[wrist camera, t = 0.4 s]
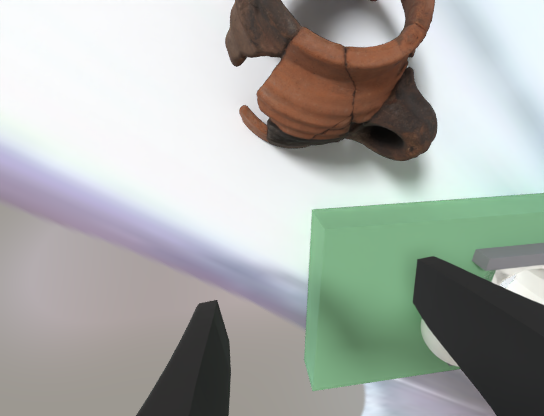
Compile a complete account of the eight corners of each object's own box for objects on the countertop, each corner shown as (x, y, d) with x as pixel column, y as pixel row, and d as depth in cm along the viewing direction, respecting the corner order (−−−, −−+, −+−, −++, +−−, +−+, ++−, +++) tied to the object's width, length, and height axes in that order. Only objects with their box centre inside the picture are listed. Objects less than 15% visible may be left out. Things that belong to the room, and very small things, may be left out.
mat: (594, 189, 23) (666, 210, 19) (523, 329, 29) (566, 366, 26) (312, 209, 20) (331, 239, 16) (304, 359, 27) (316, 405, 23)
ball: (468, 284, 21) (523, 330, 17) (453, 326, 23) (499, 377, 19) (414, 290, 21) (458, 339, 17) (403, 332, 22) (440, 386, 18)
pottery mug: (191, 106, 17) (164, -19, 9) (274, -1, 18) (316, -186, 10) (351, 215, 18) (460, 196, 10) (414, 105, 20) (550, 11, 12)
